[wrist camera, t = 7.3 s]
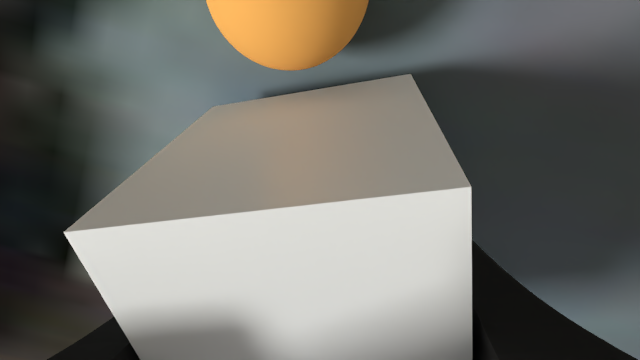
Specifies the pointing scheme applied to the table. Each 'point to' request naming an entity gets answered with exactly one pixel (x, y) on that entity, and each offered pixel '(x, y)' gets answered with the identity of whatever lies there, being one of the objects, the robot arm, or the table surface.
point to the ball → (288, 29)
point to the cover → (292, 234)
